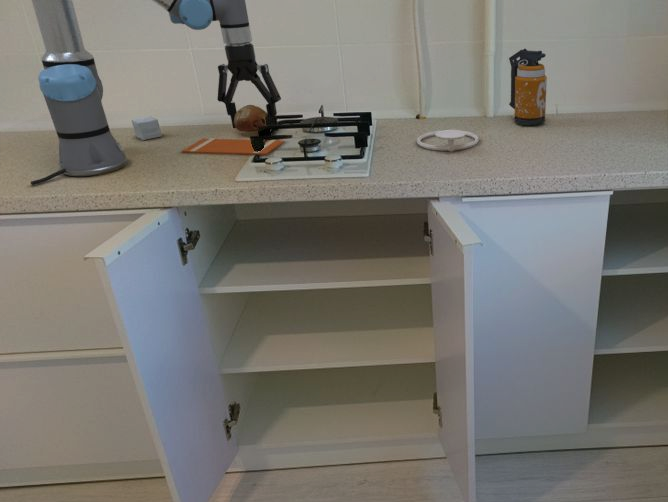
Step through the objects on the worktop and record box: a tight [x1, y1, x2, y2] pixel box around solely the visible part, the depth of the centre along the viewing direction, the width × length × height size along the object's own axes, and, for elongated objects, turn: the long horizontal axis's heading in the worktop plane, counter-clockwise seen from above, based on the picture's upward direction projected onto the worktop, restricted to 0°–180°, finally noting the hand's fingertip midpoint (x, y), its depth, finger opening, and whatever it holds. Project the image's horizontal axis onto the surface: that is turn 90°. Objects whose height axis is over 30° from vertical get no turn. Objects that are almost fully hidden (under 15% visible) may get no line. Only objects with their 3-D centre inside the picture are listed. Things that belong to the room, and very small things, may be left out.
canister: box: [508, 48, 548, 127], centre depth 192 cm, size 9×11×20 cm
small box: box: [131, 116, 163, 141], centre depth 192 cm, size 6×6×5 cm
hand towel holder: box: [416, 129, 480, 153], centre depth 179 cm, size 17×4×21 cm
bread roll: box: [234, 104, 268, 133], centre depth 192 cm, size 10×10×8 cm
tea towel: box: [181, 137, 285, 156], centre depth 182 cm, size 12×24×1 cm, turn 81°
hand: (254, 127), depth 193 cm, fingers closed on bread roll, 11 cm apart
